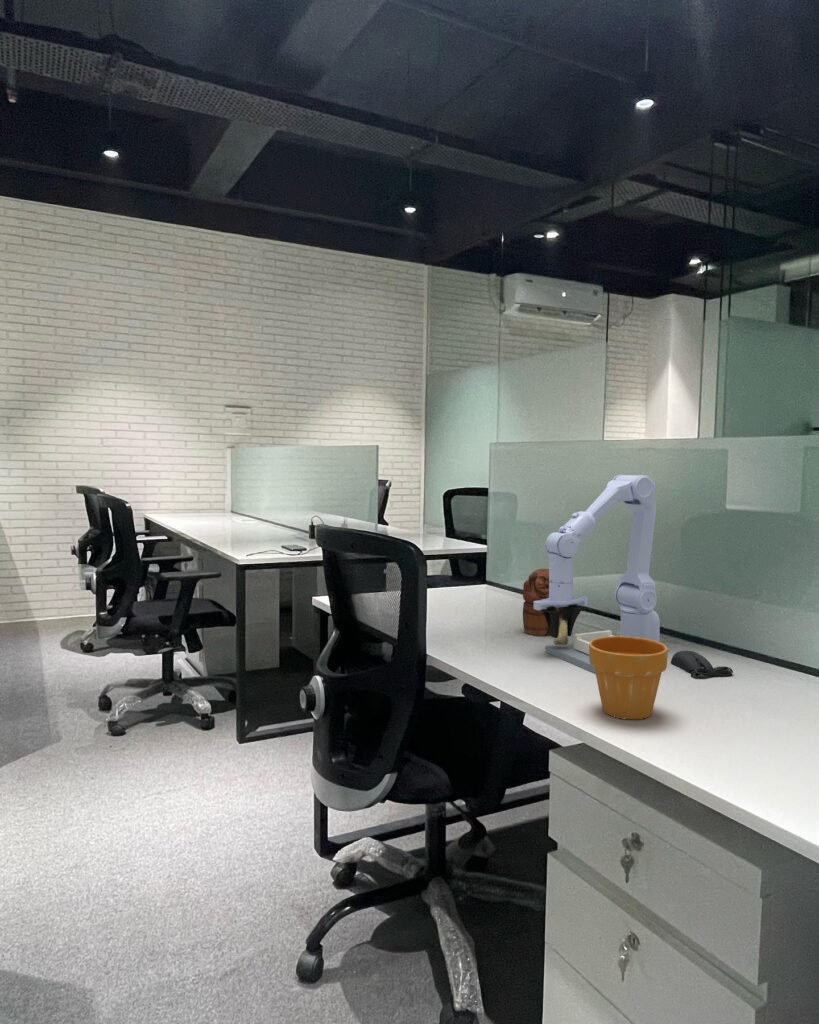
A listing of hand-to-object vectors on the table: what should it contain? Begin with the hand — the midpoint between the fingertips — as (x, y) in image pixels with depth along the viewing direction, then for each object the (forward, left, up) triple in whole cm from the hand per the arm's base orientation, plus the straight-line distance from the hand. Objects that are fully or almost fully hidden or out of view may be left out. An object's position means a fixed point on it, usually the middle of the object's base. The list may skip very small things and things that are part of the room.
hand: (560, 636), depth 176 cm
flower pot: (+12, +39, -5) cm, 41 cm away
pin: (0, 0, -2) cm, 2 cm away
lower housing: (-7, +7, -3) cm, 11 cm away
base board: (-6, +8, -5) cm, 11 cm away
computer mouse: (-21, +22, -5) cm, 32 cm away
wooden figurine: (-9, -20, -5) cm, 22 cm away
